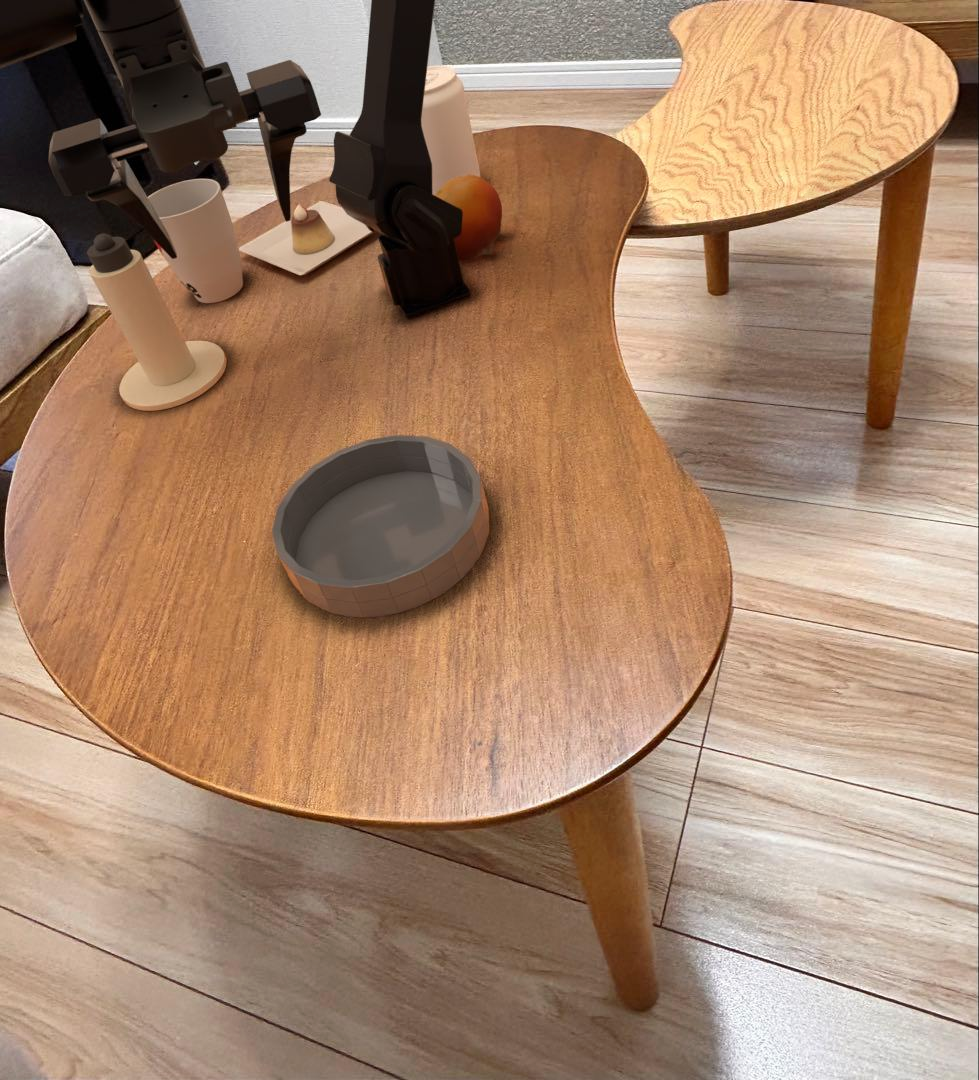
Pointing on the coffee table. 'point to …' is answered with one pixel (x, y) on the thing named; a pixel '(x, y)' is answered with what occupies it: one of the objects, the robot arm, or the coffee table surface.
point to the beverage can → (447, 127)
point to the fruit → (474, 214)
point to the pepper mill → (139, 310)
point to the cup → (200, 238)
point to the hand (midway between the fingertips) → (231, 237)
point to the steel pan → (382, 525)
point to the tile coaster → (154, 397)
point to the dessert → (308, 238)
